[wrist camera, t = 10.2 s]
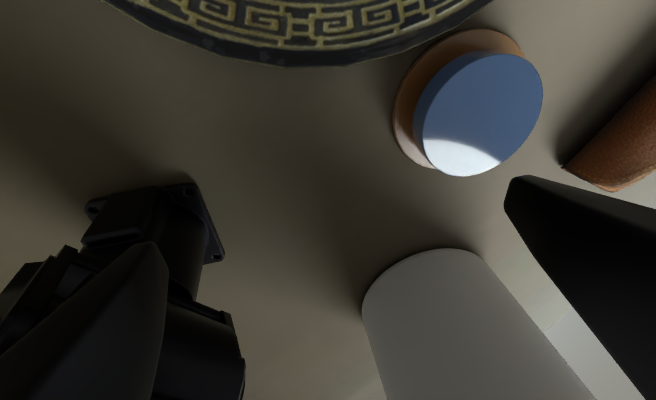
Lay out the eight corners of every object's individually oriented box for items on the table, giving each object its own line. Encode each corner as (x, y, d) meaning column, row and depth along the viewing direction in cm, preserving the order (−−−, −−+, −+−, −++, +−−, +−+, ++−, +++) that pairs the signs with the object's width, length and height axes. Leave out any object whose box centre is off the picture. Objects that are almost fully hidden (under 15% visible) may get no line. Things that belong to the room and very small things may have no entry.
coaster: (506, 154, 23) (510, 157, 22) (391, 177, 22) (393, 179, 22) (540, 17, 18) (545, 18, 17) (392, 40, 17) (395, 41, 17)
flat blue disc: (501, 149, 22) (524, 165, 20) (403, 167, 21) (418, 186, 19) (527, 36, 18) (560, 43, 16) (407, 55, 17) (427, 65, 15)
